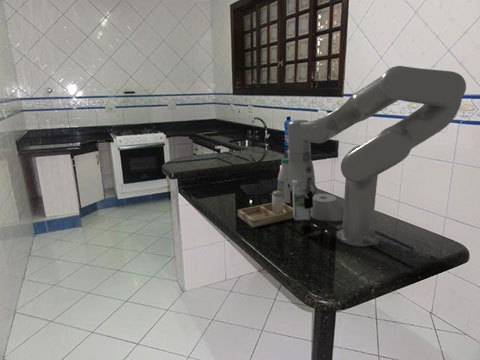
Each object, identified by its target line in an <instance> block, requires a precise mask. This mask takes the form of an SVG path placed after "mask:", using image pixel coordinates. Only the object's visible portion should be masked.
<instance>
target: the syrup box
mask: <svg viewBox="0 0 480 360" xmlns="http://www.w3.org/2000/svg"><path fill="white" fill-rule="evenodd" d="M307 188H310V186H309V185H307V187H306V189H307ZM309 192H310V191H309V190H308V191H307V193H309ZM292 195H293V203H292V208H293V215H294V218H293V219H294V221H296V222H297V221H310V220H311V218H312V216H311V208H308V209H305V208H304V198H306V197H305V194H304V192H303V190H300V188H299V183H298V182H297V181H295V180H293V187H292Z"/></svg>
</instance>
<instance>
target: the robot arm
mask: <svg viewBox="0 0 480 360" xmlns="http://www.w3.org/2000/svg"><path fill="white" fill-rule="evenodd" d="M466 91H467V83H466V80H465V78H464V77H463V76H462V75H461V74H460V73H458V72H456V71H452V70H451V71H450V70H441V69H440V70H439V69H430V68H419V67H412V66H404V65H396V66H393V67H390V68H389V69H387V70H386V71H385V72H384V73H383V74H382V75H381V76H379V77H378V78H376V79H375V80H374V81H372V82H371V83H369V84H367V85H365V87H363V88H361V89H359V90H358V91H356V92H354V93H353V94H352V95H351V96H350V97H349V98H348V99H347V100H346V101H345V102H344V103H343V104H342V105H340V106H339V107H338V108H336V109H334V110H333V111H331V112H330V113H328V114H327V115H325V116H323V117H321V118H318V119H315V120H311V121H309V120H306V119H295V120H291V121H289V122H288V123H287V146H288V158H289V165H288V178H287V179H286V181H287V184H288V187H289V192H290V202H291V203H290V204H293V195H292V187H293V180H295V181H297V182H298V183H299V188H300V190H303V192H304V194H305V197H306V198H304V208H305V209H308V208H310V209H311V208H312V207H313V197H314V195H316V193H317V190H318V187H317V186H316V177H315V170H314V169H315V168H314V164H313V160H312V153H311V152H312V149H311V146H312V144H311V143H313V144H323V143H326V142H327V141H328V140H330V139H333V137H336V135H339V134H341V132H343V131H345V130H347V129H348V128H351V127H352V126H354V125H355V124H357V123H360V122H364V121H365V120H368V119H369V118H371V117H372V116H374V115H376V114H377V113H379V112H380V111H383V110H385V109H386V108H387V107H389V106H391V105H393V104H395V103H397V102H398V101H402V102H408V103H413V104H414V103H415V104H421V107H419V108H417V110H415V111H414V112H413V111H412V112H411V113H410V114H409V115H407V116H406V117H404V118H403V119H401V120H400V121H397V122H396V123H394V124H393V125H390V126H389V127H386V128H385V129H383V130H382V131H381V132H380V133H378V134H377V135H376V136H374V137H373V138H371V139H369V140H368V141H366V142H364V143H363V144H360V145H356V146H355V147H352V148H351V149H350V150H349V151H348V152H347V154H345V156H344V157H343V158H342V160H341V162H340V171H341V174H342V176H343V177H344V178H345V181H344V197H343V208H344V210H343V220H342V228H341V229H339V230H338V231H337V233H336V236H337V237H336V238H337V239H338V240H339V241H340V242H341V243H343V244H345V245H349V246H353V247H360V248H361V247H369V246H373V245H374V246H377V245H378V244H379V242H380V241H381V239H382V238H381V236H378V235H376V229H375V228H374V217H375V209H376V208H375V206H376V205H375V204H376V196H377V186H378V179H379V178H378V176H379V175H380V174H382V173H384V172H385V171H387V170H389V169H391V168H392V167H395V166H396V165H398V164H399V163H401V162H403V161H404V160H405V159H406V158H408V156H409V155H410V154H411V150H412V149H414V148H415V147H417V146H419V145H421V144H423V143H424V142H426V141H427V140H428V139H430V138H432V137H433V136H435V135H436V134H438V133H440V132H441V131H443V130H444V129H445V128H446V127H448V126H449V124H451V123H452V122H453V120H454V119H455V118H456V116H457V114H458V112H459V110H460V107H461V105H462V100H463V97H464V96H465V92H466ZM422 104H423V105H422ZM307 185H309V186H310V188H307V189H306V187H307ZM308 190H309V191H310V192H309V193H307V191H308Z"/></svg>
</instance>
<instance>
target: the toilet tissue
mask: <svg viewBox="0 0 480 360" xmlns="http://www.w3.org/2000/svg"><path fill="white" fill-rule="evenodd" d="M310 209H311V211H310V212H311V218H312V219H314V220H316V221H324V222H325V221H327V222H340V221H341V222H342V221H343V210H344V207H341V206H339V205H337V197H336V196H335V195H332V194H328V193H318V194H316V193H315V194H314V197H313V207H312V208H310Z"/></svg>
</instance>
